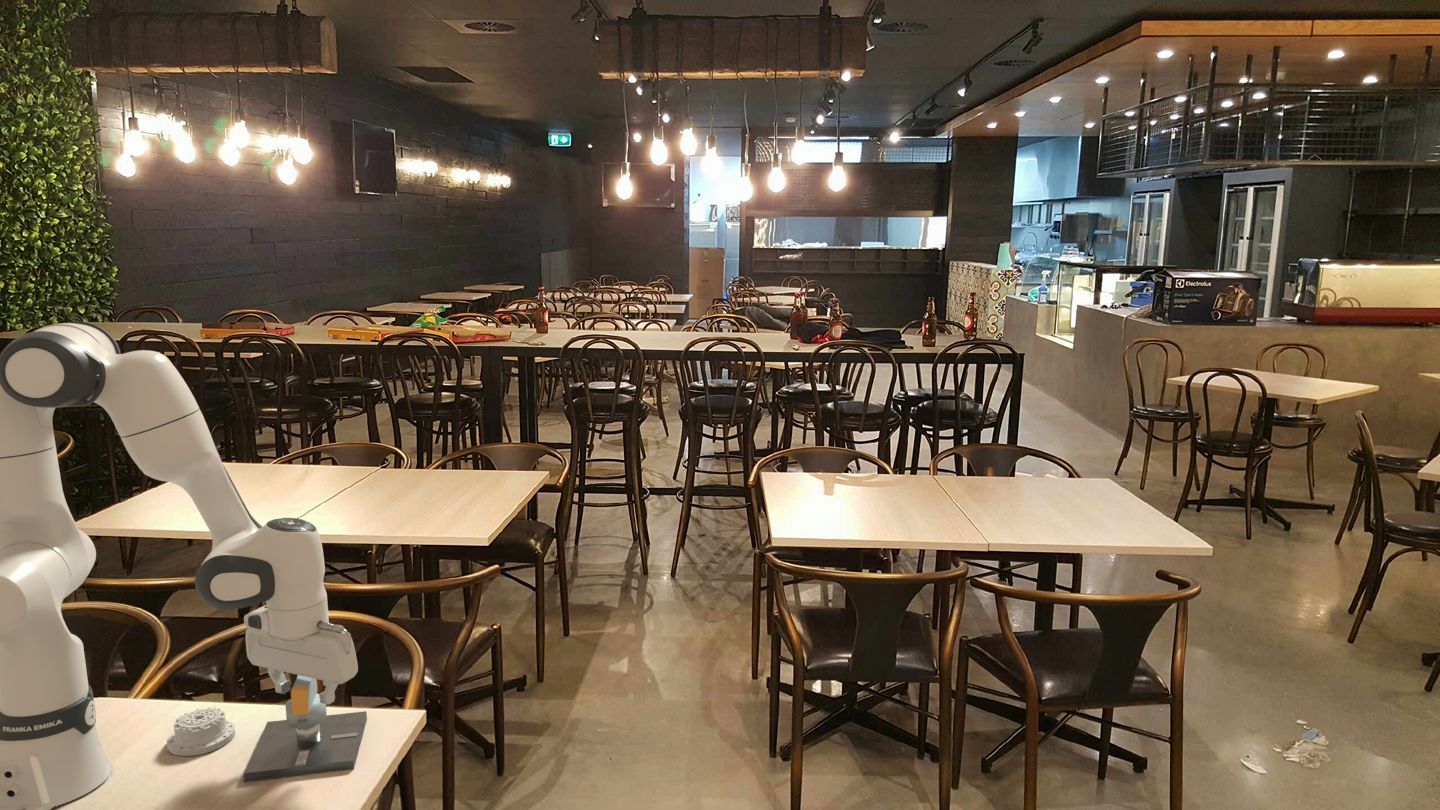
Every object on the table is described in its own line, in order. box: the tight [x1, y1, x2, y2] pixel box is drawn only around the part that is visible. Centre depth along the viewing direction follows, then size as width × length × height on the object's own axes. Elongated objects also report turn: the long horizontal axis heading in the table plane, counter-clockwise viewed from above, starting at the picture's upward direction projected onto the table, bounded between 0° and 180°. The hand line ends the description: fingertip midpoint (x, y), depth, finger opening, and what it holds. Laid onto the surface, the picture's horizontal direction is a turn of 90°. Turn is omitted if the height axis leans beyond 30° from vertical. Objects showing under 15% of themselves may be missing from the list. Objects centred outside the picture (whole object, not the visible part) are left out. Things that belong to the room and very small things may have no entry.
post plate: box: [243, 710, 368, 783], centre depth 154 cm, size 16×16×5 cm
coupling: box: [285, 675, 327, 730], centre depth 152 cm, size 8×6×7 cm
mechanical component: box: [166, 707, 236, 757], centre depth 156 cm, size 10×4×10 cm
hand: (305, 697), depth 152 cm, fingers open, 8 cm apart
